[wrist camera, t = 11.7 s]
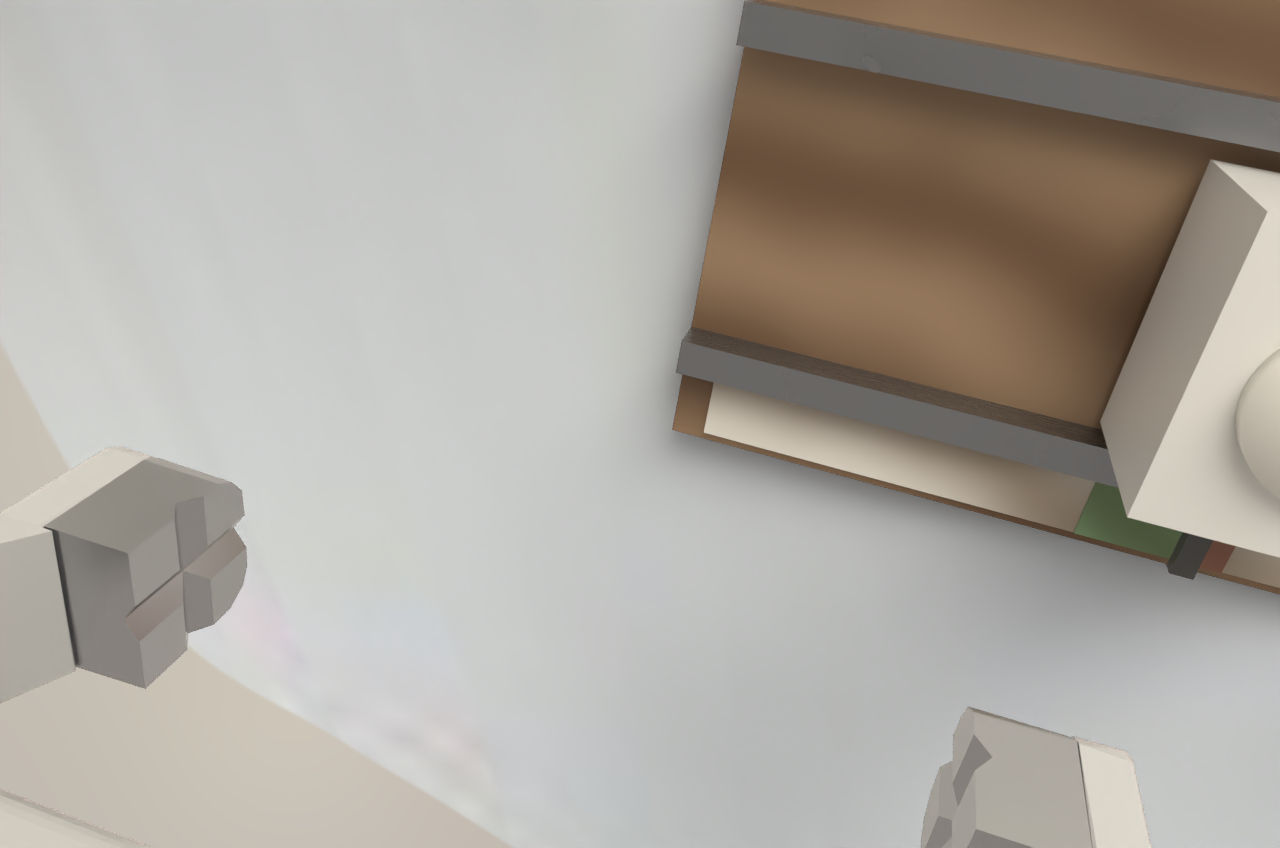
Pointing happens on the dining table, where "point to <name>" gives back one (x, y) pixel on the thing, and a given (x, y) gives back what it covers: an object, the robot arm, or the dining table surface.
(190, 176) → the dining table surface
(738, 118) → the gauge bench
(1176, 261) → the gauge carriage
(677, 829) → the dining table surface
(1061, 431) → the grey long frame
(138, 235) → the dining table surface
